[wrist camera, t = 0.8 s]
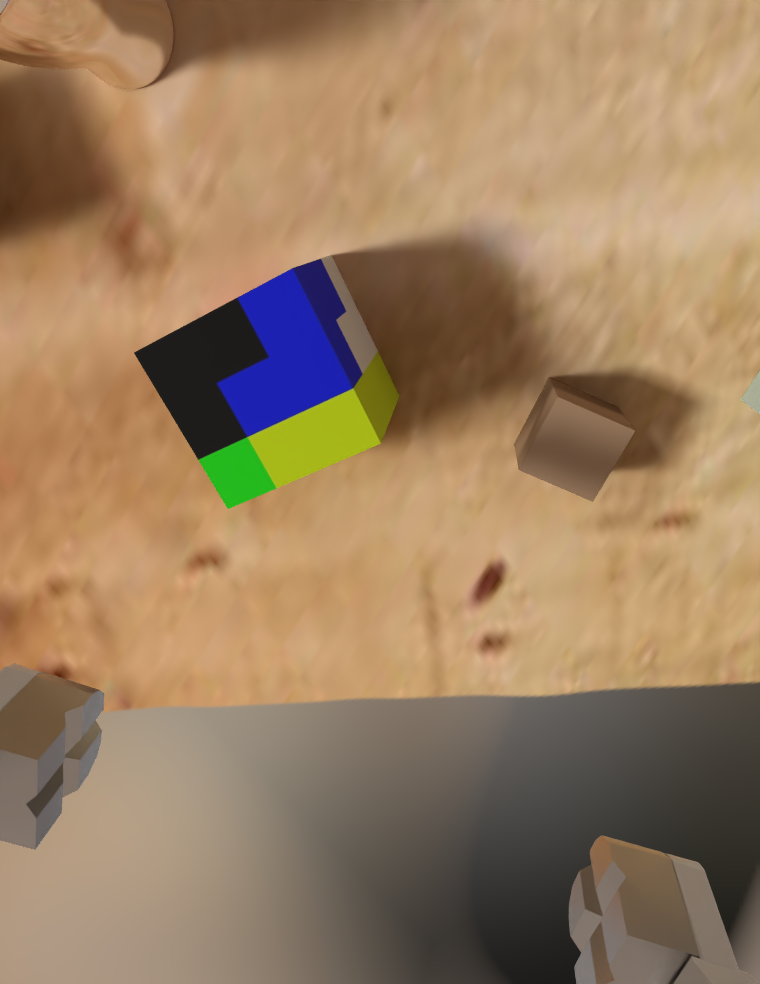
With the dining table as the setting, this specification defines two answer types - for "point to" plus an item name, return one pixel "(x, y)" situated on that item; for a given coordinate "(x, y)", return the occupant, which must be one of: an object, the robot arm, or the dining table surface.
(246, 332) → the puzzle toy
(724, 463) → the dining table surface
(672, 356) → the dining table surface
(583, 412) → the walnut cube
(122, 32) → the beer glass
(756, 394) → the block
